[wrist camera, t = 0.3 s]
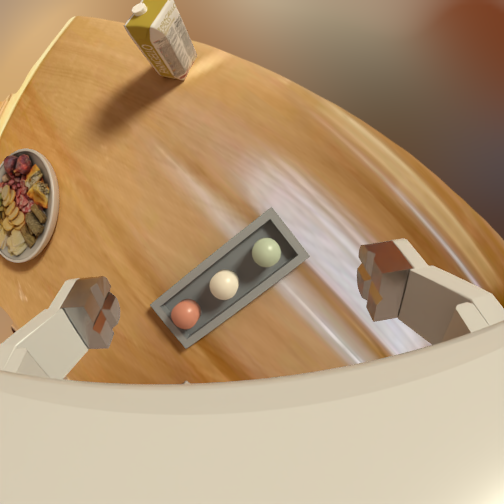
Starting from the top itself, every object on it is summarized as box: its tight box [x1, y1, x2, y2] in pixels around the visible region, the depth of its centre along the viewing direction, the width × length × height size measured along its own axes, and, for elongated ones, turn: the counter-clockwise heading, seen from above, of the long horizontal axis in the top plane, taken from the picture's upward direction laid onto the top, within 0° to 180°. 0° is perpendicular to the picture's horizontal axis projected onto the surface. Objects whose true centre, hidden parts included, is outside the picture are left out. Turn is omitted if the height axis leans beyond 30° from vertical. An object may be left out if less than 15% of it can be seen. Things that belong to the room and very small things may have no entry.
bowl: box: [0, 149, 59, 263], centre depth 60 cm, size 30×30×8 cm
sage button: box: [252, 238, 281, 267], centre depth 57 cm, size 5×5×4 cm
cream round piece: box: [210, 269, 239, 300], centre depth 58 cm, size 5×5×4 cm
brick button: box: [171, 299, 201, 329], centre depth 59 cm, size 5×5×4 cm
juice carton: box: [124, 0, 197, 80], centre depth 47 cm, size 9×8×24 cm
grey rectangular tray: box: [150, 207, 310, 349], centre depth 61 cm, size 12×32×4 cm, turn 128°
